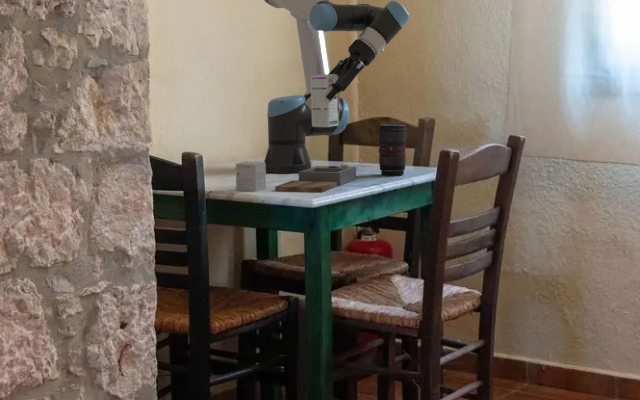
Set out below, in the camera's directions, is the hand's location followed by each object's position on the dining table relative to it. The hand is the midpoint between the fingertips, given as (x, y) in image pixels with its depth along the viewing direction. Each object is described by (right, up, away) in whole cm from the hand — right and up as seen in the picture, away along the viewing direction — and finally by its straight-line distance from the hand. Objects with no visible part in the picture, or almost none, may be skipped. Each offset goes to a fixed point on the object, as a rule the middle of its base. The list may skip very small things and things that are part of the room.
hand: (313, 106), depth 261 cm
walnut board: (-2, -23, -9) cm, 25 cm away
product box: (-17, -23, -9) cm, 30 cm away
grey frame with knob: (+4, -21, +6) cm, 22 cm away
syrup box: (+3, -5, +2) cm, 7 cm away
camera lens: (+24, -19, +21) cm, 36 cm away
